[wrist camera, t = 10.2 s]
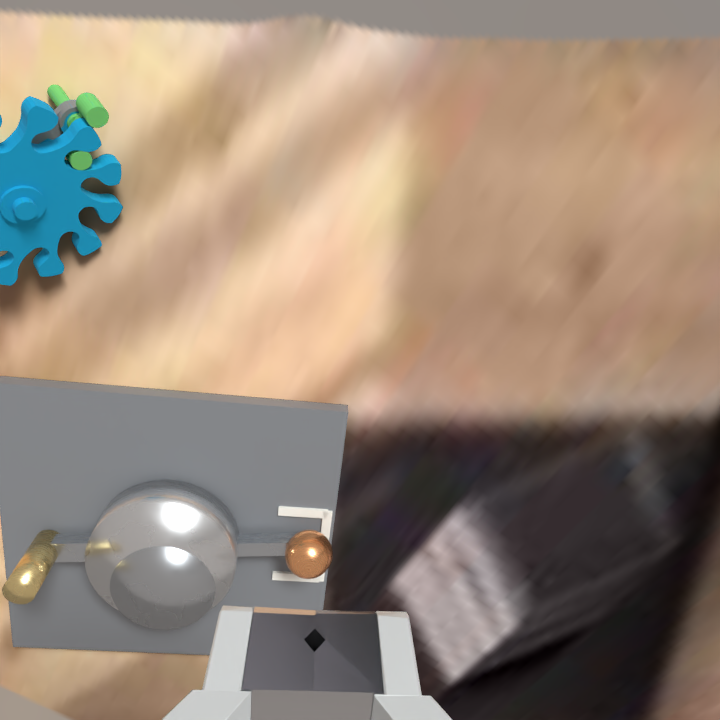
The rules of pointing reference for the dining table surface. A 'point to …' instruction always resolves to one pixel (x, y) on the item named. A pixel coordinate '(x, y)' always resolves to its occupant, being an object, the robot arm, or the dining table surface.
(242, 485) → the grey square plate
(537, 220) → the dining table surface
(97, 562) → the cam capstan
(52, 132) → the gear
